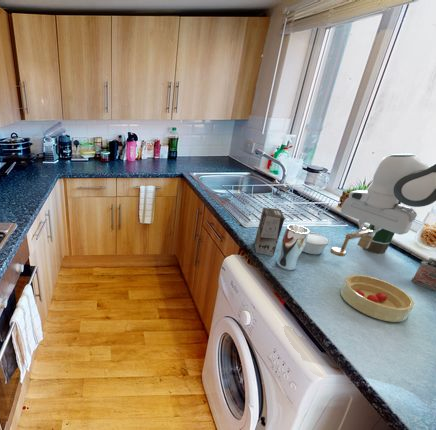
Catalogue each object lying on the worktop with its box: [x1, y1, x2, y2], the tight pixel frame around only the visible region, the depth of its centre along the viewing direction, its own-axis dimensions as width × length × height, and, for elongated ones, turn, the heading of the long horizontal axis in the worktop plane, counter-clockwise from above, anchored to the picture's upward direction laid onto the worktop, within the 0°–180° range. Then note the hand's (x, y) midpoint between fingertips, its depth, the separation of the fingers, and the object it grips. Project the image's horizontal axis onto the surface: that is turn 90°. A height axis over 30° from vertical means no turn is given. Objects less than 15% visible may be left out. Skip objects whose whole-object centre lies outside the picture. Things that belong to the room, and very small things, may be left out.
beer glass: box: [276, 224, 310, 271], centre depth 101 cm, size 7×7×15 cm
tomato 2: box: [367, 295, 378, 303], centre depth 85 cm, size 3×3×3 cm
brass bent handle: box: [329, 228, 374, 257], centre depth 104 cm, size 19×4×7 cm, turn 113°
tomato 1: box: [355, 290, 364, 297], centre depth 87 cm, size 3×3×3 cm
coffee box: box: [254, 207, 286, 257], centre depth 110 cm, size 9×6×16 cm
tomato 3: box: [375, 293, 387, 302], centre depth 86 cm, size 3×3×3 cm
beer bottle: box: [363, 201, 402, 254], centre depth 111 cm, size 8×8×24 cm
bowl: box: [340, 274, 415, 323], centre depth 85 cm, size 15×15×5 cm
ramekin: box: [302, 231, 330, 255], centre depth 114 cm, size 11×11×5 cm
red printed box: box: [410, 257, 436, 291], centre depth 93 cm, size 8×3×10 cm, turn 47°
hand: (365, 233), depth 106 cm, fingers closed on brass bent handle, 2 cm apart
